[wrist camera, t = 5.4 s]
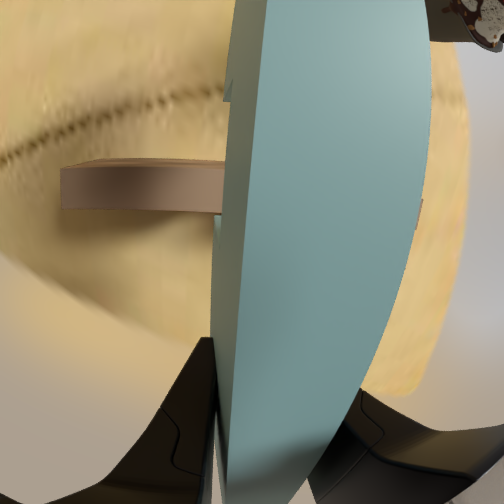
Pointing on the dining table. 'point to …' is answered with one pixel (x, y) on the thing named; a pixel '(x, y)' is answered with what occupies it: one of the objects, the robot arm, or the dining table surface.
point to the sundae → (467, 22)
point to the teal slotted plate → (311, 223)
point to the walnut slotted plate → (146, 185)
